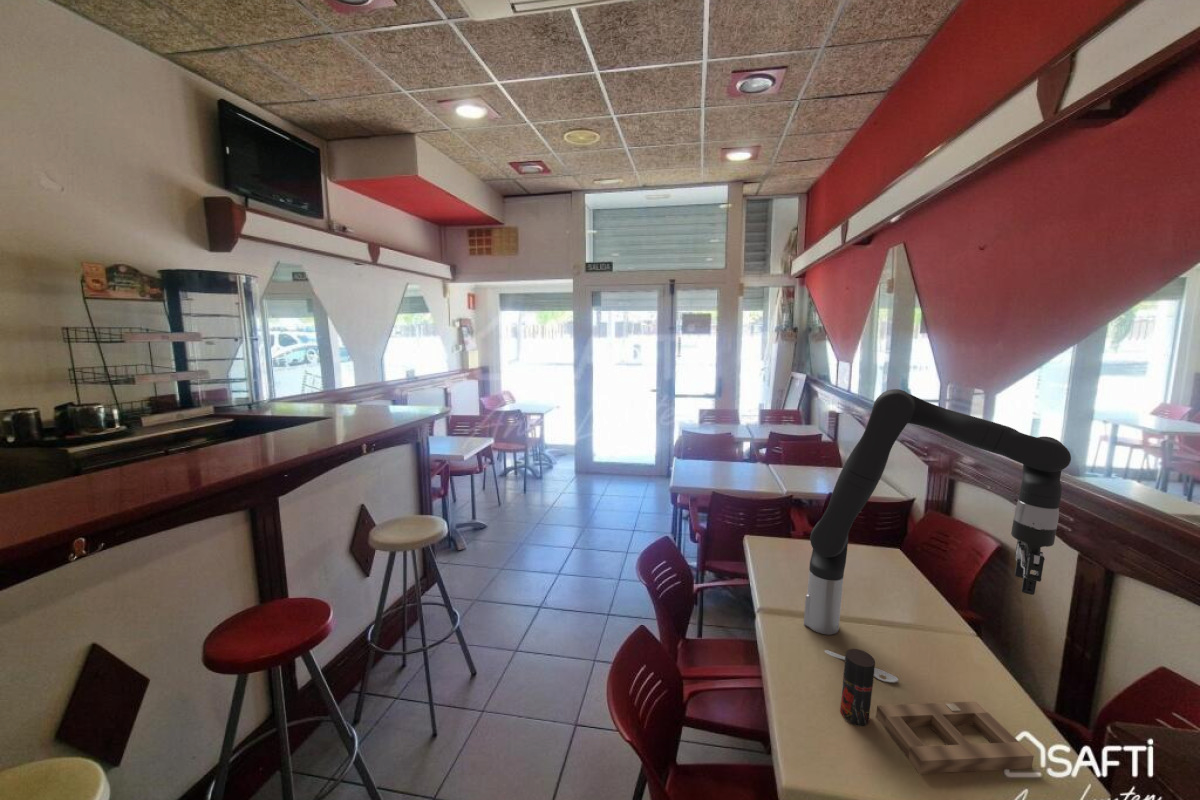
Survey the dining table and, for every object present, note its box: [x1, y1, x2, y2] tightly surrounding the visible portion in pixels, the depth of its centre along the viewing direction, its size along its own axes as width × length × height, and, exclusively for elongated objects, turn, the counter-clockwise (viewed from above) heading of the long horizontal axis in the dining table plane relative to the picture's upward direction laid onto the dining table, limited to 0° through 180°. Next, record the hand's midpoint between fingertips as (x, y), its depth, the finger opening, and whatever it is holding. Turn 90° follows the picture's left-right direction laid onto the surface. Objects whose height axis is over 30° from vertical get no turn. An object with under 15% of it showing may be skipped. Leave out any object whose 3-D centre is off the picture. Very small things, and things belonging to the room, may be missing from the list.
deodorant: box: [839, 648, 876, 727], centre depth 108 cm, size 6×6×15 cm
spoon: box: [824, 649, 900, 683], centre depth 126 cm, size 4×21×2 cm, turn 46°
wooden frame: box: [875, 700, 1035, 775], centre depth 102 cm, size 24×14×3 cm, turn 93°
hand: (1023, 584), depth 113 cm, fingers open, 8 cm apart
